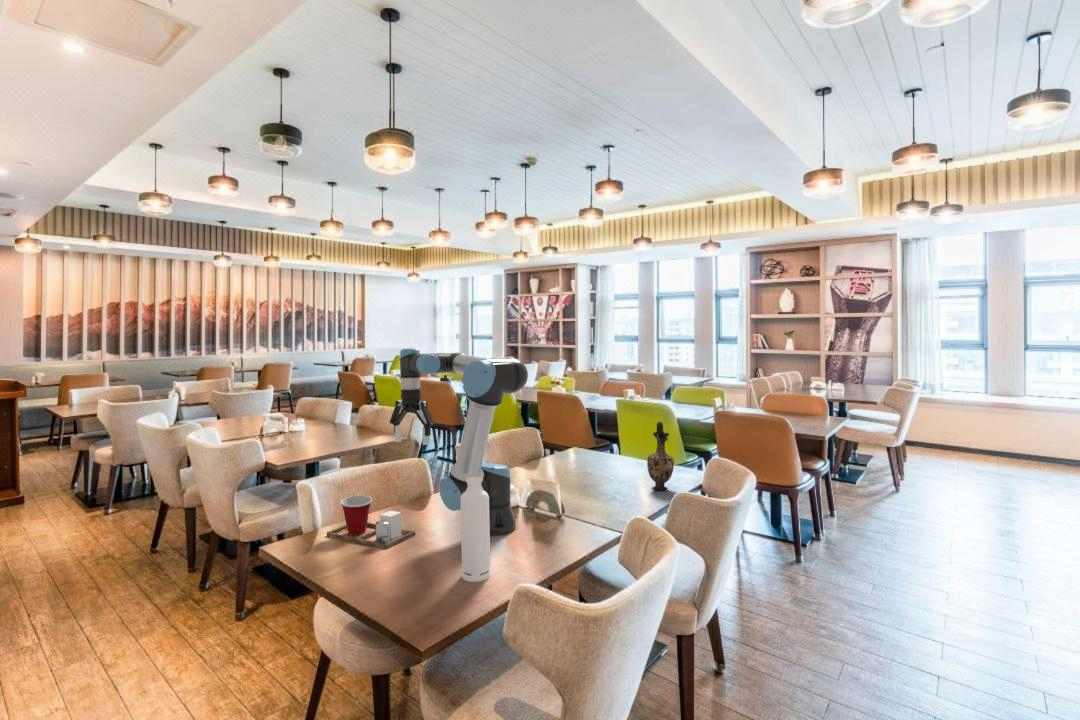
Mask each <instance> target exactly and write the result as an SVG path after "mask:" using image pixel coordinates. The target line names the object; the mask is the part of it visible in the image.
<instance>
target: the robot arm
mask: <svg viewBox="0 0 1080 720" xmlns="http://www.w3.org/2000/svg"><path fill="white" fill-rule="evenodd" d="M399 369H400V370H399V371H400V388H401V390H400V398H401V399H398V400H396V401H395V404H394V409H393V411H392V414H391V416H390V420H389V424H391V425H393V432H394V436H395V437H394V438H395V443H400V442H402V440H403V439H402V438H403V437H402V431H403V430H402V424H401V423H402V421H403V420H404V418H405V416H406V415H407V414H408V413H410V414H414V415H415V416H416V417H417V418H418V420H419V421H420V423H421V424H422V426H423V427H422V445H423V446H426V445H429V444H430V441H429V440H430V435H431V427H432V426H435V421H434V419H433V417H432V415H431V412H430V410H429V407H428V401H426V400H424V401H421V397H422V394H421V393H422V390H421V389H420V388H421V385H422V384H421V374H422V375H434V374H444V373H445V374H447V373H448V374H449V373H454V374H458V375H462V378H461V383H462V384H463V385H462V389H463V392H464V393H465V394H466V395H465V396H466V398H467V400H468V401H469V402H468V403H469V404H468V407H467V408H468V409H467V412H466V415H465V416H466V417H465V422H464V426H463V430H462V435H461V440H460V444H459V450H458V453H457V458H456V462H455V463H454V464H453V465H451V466H450V469H449V473H448V476H444V477H443V478H441V479H440V481H439V485H438V487H439V488H438V489H439V496H440V498H441V501H442V502H443V504H444V506H445V507H446V508H447V509H448V510H450V511H452V512H455V511H461V499H460V498H461V495H462V494H463V493H464V492H465V491H466V489H467V487H468V485H467V482H466V479H467V478H470V477H481V478H483V481H482V482H481V486H482V488H483V491H485V492H487V494H488V496H489V526H490V536H499V535H501V536H502V535H506V534H509V533H512V532H513V531H514V530H515V529H516V528H517V522H516V519H515V515H514V513H513V509H512V506H511V478H512V477H511V472H510V467H508V466H507V465H505V464H500V463H485V462H484V463H483V461H484V458H485V453H486V449H487V444H488V441H489V435H490V432H491V428H492V423H493V420H494V416H495V412H496V408H497V407H499V406H501V405H502V401H503V398H504V395H508V394H514V393H517V392H519V391H520V390H522V389H523V388H524V387H525V386H526V383H528V378H529V374H528V373H529V372H528V369H527V366H526V365H525V363H523V362H522V361H521V360H519V359H518V358H510V357H509V358H507V357H506V358H486V357H479V356H473V355H467V354H466V353H463V352H450V353H448V352H447V353H446V352H445V353H441V352H440V353H421V351H420V349H419V348H403V349H400V351H399Z"/></svg>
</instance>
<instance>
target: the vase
mask: <svg viewBox="0 0 1080 720" xmlns="http://www.w3.org/2000/svg"><path fill="white" fill-rule="evenodd" d="M652 435H653V436H654V438H656V450H655V452H654V453H651V454H650V455H648V457H647V463H646V464H647V465H646V466H647V472H648V475H649V477H650V479H651V480H652V481H653V482H654V484H655V485H654V486H652V487H651V489H652V490H653V489H654V490H653V491H655V490H659V491H658V492H666V491H665V490H667V489H668V487H667V486H665V484H666V483H667V482H669V480H670V479H671V478H672V475H673V472H674V468H675V467H674V466H675V461H674V457H673V456H671V455H670V454H668V453H667V452H666V442H667V441H668V440H669V438H668V437H669V436H670V434H669V432H664V424H663V422H662V421H657V422H656V431H655V432H654V431H653V432H652ZM668 490H669V489H668ZM668 490H667V491H668Z"/></svg>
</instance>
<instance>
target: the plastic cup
mask: <svg viewBox="0 0 1080 720" xmlns="http://www.w3.org/2000/svg"><path fill="white" fill-rule="evenodd" d="M372 502H373V498H372V497H371V496H368V495H350V496H347V497H345V498H343V499H341V500H340V505H341V506H342V510H343V514H344V520H345V525H347V529H346V530H347V531H348V535H350V534H352V535H351V536H359V535H358V534H360V535H362V534H363V535H364V534H365V533H366V531H367V527H368V526H367V522H368V520H369V513H370V507H371V503H372ZM364 532H365V533H364Z"/></svg>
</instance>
